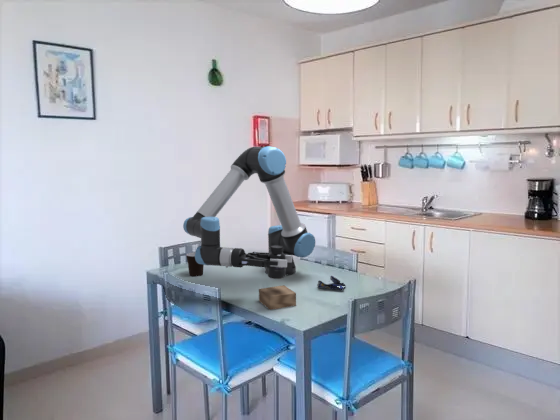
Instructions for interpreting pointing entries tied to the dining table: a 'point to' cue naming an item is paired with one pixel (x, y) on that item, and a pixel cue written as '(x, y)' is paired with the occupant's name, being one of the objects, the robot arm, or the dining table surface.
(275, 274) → the supplement bottle
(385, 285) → the dining table surface
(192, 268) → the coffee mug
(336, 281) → the dark blue angular piece
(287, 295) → the foundation block
